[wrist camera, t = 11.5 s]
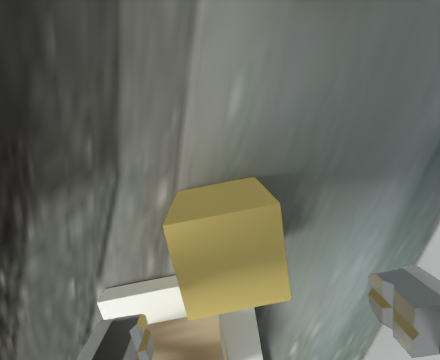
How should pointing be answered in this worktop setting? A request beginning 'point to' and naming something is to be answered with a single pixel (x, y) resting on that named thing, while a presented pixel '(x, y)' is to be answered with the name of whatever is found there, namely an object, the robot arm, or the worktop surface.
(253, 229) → the mustard brick
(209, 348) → the beech brick
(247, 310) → the plate
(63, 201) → the worktop surface
